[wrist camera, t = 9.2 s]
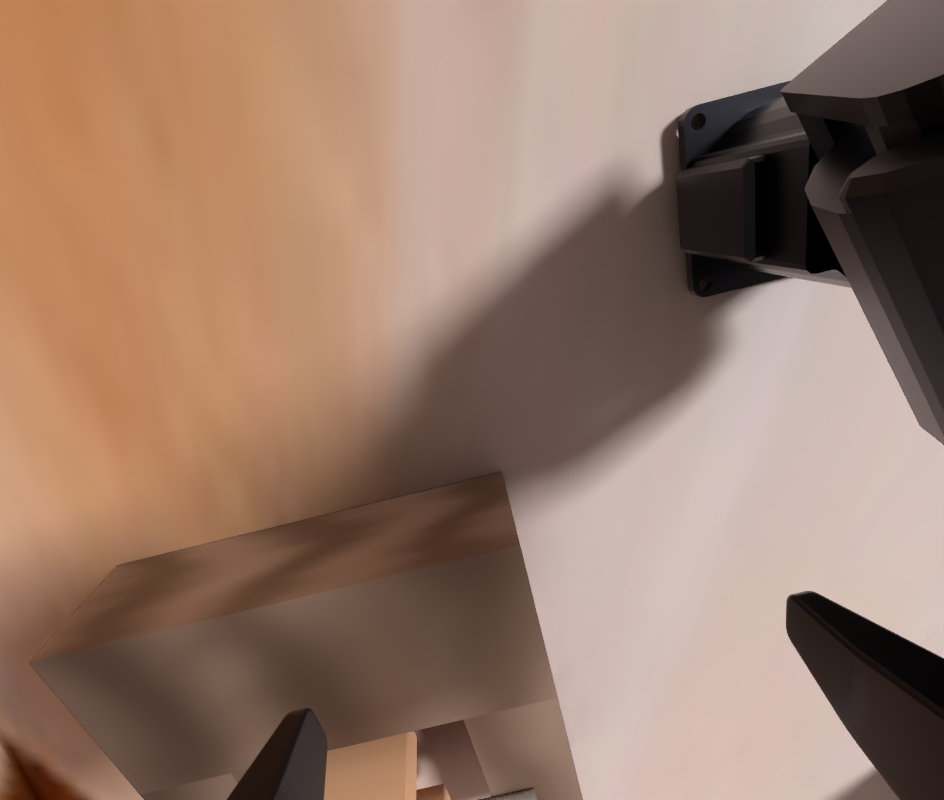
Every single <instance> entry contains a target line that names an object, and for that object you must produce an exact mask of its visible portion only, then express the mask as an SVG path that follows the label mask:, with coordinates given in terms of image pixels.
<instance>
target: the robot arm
mask: <svg viewBox="0 0 944 800" xmlns="http://www.w3.org/2000/svg"><path fill="white" fill-rule="evenodd" d="M693 116H697V117H698V118H699V121H700V124H699V127H698V129H697V130H694V129H693V128H692V126H691V120H692V118H693ZM678 132H679V148H680V165H681V172H680V174H679V176H678V177H677V180H676V183H677V199H678V214H679V229H680V245H681V249H682V250H684V251H685V252H686V263H687V279H688V288H689V291H690V292H691V293H692V294H694V295H697V296H700V297H708V296H712V295H716V294H720V293H724V292H728V291H732V290H736V289H740V288H744V287H748V286H752V285H756V284H760V283H764V282H768V281H772V280H776V279H780V278H784V277H792V278H798V279H804V280H810V281H815V282H821V283H827V284H833V285H838V286H844V287H850V288H852V289H853V291H854V293H855V295H856V297H857V299H858V301H859V303H860V305H861V307H862V309H863V311H864V314H865V316H866V318H867V320H868V322H869V324H870V326H871V328H872V330H873V332H874V334H875V336H876V338H877V340H878V342H879V344H880V346H881V348H882V350H883V352H884V354H885V356H886V358H887V360H888V362H889V364H890V366H891V368H892V370H893V372H894V374H895V376H896V378H897V380H898V382H899V384H900V386H901V388H902V390H903V393H904V395H905V397H906V399H907V401H908V403H909V405H910V407H911V409H912V411H913V413H914V415H915V417H916V419H917V421H918V423H919V425H920V426H921V427H922V428H923V429H924V430H926V431H927V432H928V433H929V434H931V435H932V436H933V437H934V438H936V439H937V440H938V441H939V442H941V443H942V444H943V445H944V0H887V1H886V2H885V3H884V4H883V5H881V6H880V7H879V8H878V9H877V10H875V11H874V12H873V13H872V14H871V15H869V16H868V17H867V18H866V19H865V20H863V21H862V22H861V23H860V24H859V25H857V26H856V27H855V28H854V29H853V30H851V31H850V32H849V33H848V34H847V35H845V36H844V37H843V38H842V39H841V40H839V41H838V42H837V43H836V44H835V45H833V46H832V47H831V48H830V49H829V50H828V51H826V52H825V53H824V54H823V55H822V56H820V57H819V58H818V59H817V60H816V61H814V62H813V63H812V64H811V65H810V66H808V67H807V68H806V69H805V70H804V71H802V72H801V73H800V74H799V75H798V76H796V77H795V78H794V79H793V80H792V81H788V82H784V83H780V84H776V85H772V86H769V87H765V88H761V89H757V90H753V91H749V92H746V93H742V94H738V95H734V96H730V97H726V98H722V99H719V100H715V101H711V102H707V103H703V104H699V105H696V106H694V107H692V108H690V109H688V110H686V111H685V112H684V113H683V114H682V116H681V118H680V120H679V125H678ZM705 277H706V279H707V284H706V286H705V287H704V288H702V289H700V286H699V285H700V281H701V280H702V279H703V278H705ZM786 630H787V633H788V636H789V638H790V640H791V642H792V644H793V645H794V647H795V648H796V650H797V651H798V653H799V655H800V656H801V658H802V659H803V661H804V663H805V664H806V666H807V667H808V669H809V671H810V672H811V674H812V675H813V677H814V678H815V680H816V682H817V683H818V685H819V686H820V688H821V690H822V691H823V693H824V694H825V696H826V698H827V699H828V701H829V702H830V704H831V705H832V707H833V709H834V710H835V712H836V713H837V715H838V717H839V718H840V720H841V721H842V723H843V724H844V726H845V727H846V729H847V730H848V732H849V733H850V734H851V736H852V737H853V738H854V740H855V741H856V743H857V744H858V745H859V747H860V748H861V749H862V751H863V752H864V753H865V755H866V756H867V757H868V759H869V760H870V761H871V763H872V764H873V765H874V767H875V768H876V769H877V770H878V772H879V773H880V774H881V776H882V777H883V778H884V780H885V781H886V782H887V784H888V785H889V786H890V788H891V789H892V790H893V792H894V793H895V794H896V796H897V797H898V798H899V800H944V658H942V657H940V656H938V655H936V654H934V653H932V652H930V651H929V650H927V649H925V648H923V647H921V646H919V645H917V644H915V643H913V642H911V641H909V640H907V639H905V638H903V637H901V636H899V635H897V634H895V633H894V632H892V631H890V630H888V629H886V628H884V627H882V626H880V625H878V624H876V623H874V622H872V621H870V620H868V619H866V618H864V617H862V616H861V615H859V614H857V613H855V612H853V611H851V610H849V609H847V608H845V607H843V606H841V605H839V604H837V603H835V602H833V601H831V600H829V599H827V598H826V597H824V596H822V595H820V594H818V593H815V592H812V591H805V592H801V593H796V594H792V595H790V596H789V597H788V598H787V604H786ZM327 749H328V745H327V737H326V734H325V732H324V730H323V728H322V726H321V725H320V723H319V721H318V719H317V717H316V715H315V714H314V712H313V710H312V709H310V708H304V709H299V710H295V711H291V712H289V713H288V714H287V715H286V716H285V717H284V718H283V719H282V721H281V722H280V724H279V725H278V727H277V728H276V729H275V731H274V732H273V734H272V735H271V737H270V738H269V739H268V741H267V742H266V744H265V745H264V747H263V748H262V749H261V751H260V752H259V754H258V755H257V757H256V758H255V759H254V761H253V762H252V764H251V765H250V767H249V768H248V769H247V771H246V772H245V774H244V775H243V776H242V778H241V779H240V781H239V782H238V784H237V785H236V786H235V788H234V789H233V791H232V792H231V794H230V795H229V796H228V798H227V799H226V800H324V791H325V777H326V763H327Z"/></svg>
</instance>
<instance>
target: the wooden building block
mask: <svg viewBox="0 0 944 800" xmlns="http://www.w3.org/2000/svg"><path fill="white" fill-rule="evenodd" d="M416 777H417V736H416V735H415V733H414V731H412V732H408V733H404V734H399V735H395V736H391V737H386V738H382V739H378V740H373V741H369V742H365V743H360V744H356V745H352V746H347V747H343V748H339V749H334V750H330V751H327V763H326V777H325V791H324V800H451V797H450V795H449V794H448V792H447V790H446V788H445V786H444V785H443V784H441V785H437V786H432V787H428V788H423V789H419V790H416Z"/></svg>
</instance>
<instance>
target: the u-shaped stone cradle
mask: <svg viewBox="0 0 944 800" xmlns="http://www.w3.org/2000/svg"><path fill="white" fill-rule="evenodd" d="M29 664H30V665H31V666H32V667H33V669H34V670H35V671H36V672H37V673H38V675H39V676H40V677H41V678H42V679H43V680H44V682H45V683H46V684H47V685H48V686H49V688H50V689H51V690H52V691H53V692H54V694H55V695H56V696H57V697H58V698H59V699H60V701H61V702H62V703H63V704H64V705H65V707H66V708H67V709H68V710H69V711H70V712H71V714H72V715H73V716H74V717H75V718H76V720H77V721H78V722H79V723H80V724H81V725H82V727H83V728H84V729H85V730H86V731H87V733H88V734H89V735H90V736H91V737H92V739H93V740H94V741H95V742H96V743H97V744H98V746H99V747H100V748H101V749H102V750H103V752H104V753H105V754H106V755H107V756H108V757H109V759H110V760H111V761H112V762H113V763H114V765H115V766H116V767H117V768H118V769H119V770H120V772H121V773H122V774H123V775H124V776H125V778H126V779H127V780H128V781H129V782H130V784H131V785H132V786H133V787H134V788H135V789H136V791H137V792H138V793H139V794H140V795H141V797H142V798H143V799H144V800H226V799H227V798H228V796H229V795H230V794H231V792H232V791H233V789H234V788H235V786H236V785H237V784H238V782H239V781H240V779H241V778H242V776H243V775H244V774H245V772H246V771H247V769H248V768H249V767H250V765H251V764H252V762H253V761H254V759H255V758H256V757H257V755H258V754H259V752H260V751H261V749H262V748H263V747H264V745H265V744H266V742H267V741H268V739H269V738H270V737H271V735H272V734H273V732H274V731H275V729H276V728H277V727H278V725H279V724H280V722H281V721H282V719H283V718H284V717H285V716H286V715H287V714H288V713H289V712H291V711H295V710H299V709H304V708H310V709H312V710H313V712H314V714H315V715H316V717H317V719H318V721H319V723H320V725H321V726H322V728H323V730H324V732H325V734H326V737H327V745H328V749H327V751H330V750H334V749H339V748H343V747H347V746H352V745H356V744H360V743H365V742H369V741H373V740H378V739H382V738H386V737H391V736H395V735H399V734H404V733H408V732H412V731H417V730H421V729H425V728H430V727H434V726H438V725H443V724H447V723H451V722H456V721H460V720H463V721H464V723H465V726H466V729H467V731H468V734H469V737H470V740H471V742H472V745H473V748H474V750H475V753H476V756H477V758H478V761H479V764H480V767H481V769H482V772H483V775H484V777H485V780H486V783H487V785H488V788H489V791H490V794H491V796H492V797H495V796H500V795H504V794H508V793H513V792H517V791H522V790H526V789H531V788H535V791H536V794H537V797H538V800H583V798H582V794H581V790H580V786H579V782H578V778H577V774H576V770H575V766H574V762H573V758H572V754H571V750H570V746H569V742H568V738H567V734H566V729H565V725H564V721H563V717H562V713H561V709H560V705H559V701H558V697H557V693H556V689H555V685H554V681H553V677H552V673H551V669H550V665H549V661H548V657H547V653H546V649H545V645H544V640H543V636H542V632H541V628H540V624H539V620H538V616H537V612H536V608H535V604H534V600H533V596H532V592H531V588H530V584H529V580H528V576H527V572H526V568H525V564H524V560H523V555H522V551H521V547H520V543H519V539H518V535H517V531H516V527H515V523H514V519H513V515H512V511H511V507H510V503H509V499H508V495H507V491H506V487H505V483H504V479H503V475H502V472H499V473H495V474H491V475H487V476H483V477H479V478H475V479H470V480H466V481H462V482H458V483H454V484H450V485H446V486H442V487H438V488H434V489H429V490H425V491H421V492H417V493H413V494H409V495H405V496H401V497H397V498H392V499H388V500H384V501H380V502H376V503H372V504H368V505H364V506H360V507H355V508H351V509H347V510H343V511H339V512H335V513H331V514H327V515H323V516H318V517H314V518H310V519H306V520H302V521H298V522H294V523H290V524H286V525H281V526H277V527H273V528H269V529H265V530H261V531H257V532H253V533H249V534H244V535H240V536H236V537H232V538H228V539H224V540H220V541H216V542H212V543H208V544H203V545H199V546H195V547H191V548H187V549H183V550H179V551H175V552H171V553H166V554H162V555H158V556H154V557H150V558H146V559H142V560H138V561H134V562H129V563H125V564H121V565H118V566H117V567H116V568H115V569H114V570H113V571H112V572H111V573H110V574H109V575H108V576H107V578H106V579H105V580H104V581H103V582H102V583H101V584H100V585H99V586H98V587H97V588H96V590H95V591H94V592H93V593H92V594H91V595H90V596H89V597H88V598H87V599H86V600H85V602H84V603H83V604H82V605H81V606H80V607H79V608H78V609H77V610H76V611H75V612H74V614H73V615H72V616H71V617H70V618H69V619H68V620H67V621H66V622H65V623H64V624H63V626H62V627H61V628H60V629H59V630H58V631H57V632H56V633H55V634H54V635H53V636H52V638H51V639H50V640H49V641H48V642H47V643H46V644H45V645H44V646H43V647H42V648H41V650H40V651H39V652H38V653H37V654H36V655H35V656H34V657H33V658H32V659H31V661H30V662H29Z"/></svg>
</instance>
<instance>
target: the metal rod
mask: <svg viewBox="0 0 944 800" xmlns="http://www.w3.org/2000/svg"><path fill="white" fill-rule="evenodd" d="M479 800H538V797H537V794H536V791H535V788H531V789H526V790H522V791H517V792H513V793H508V794H504V795H500V796H495V797H488V798H484V799H479Z"/></svg>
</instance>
